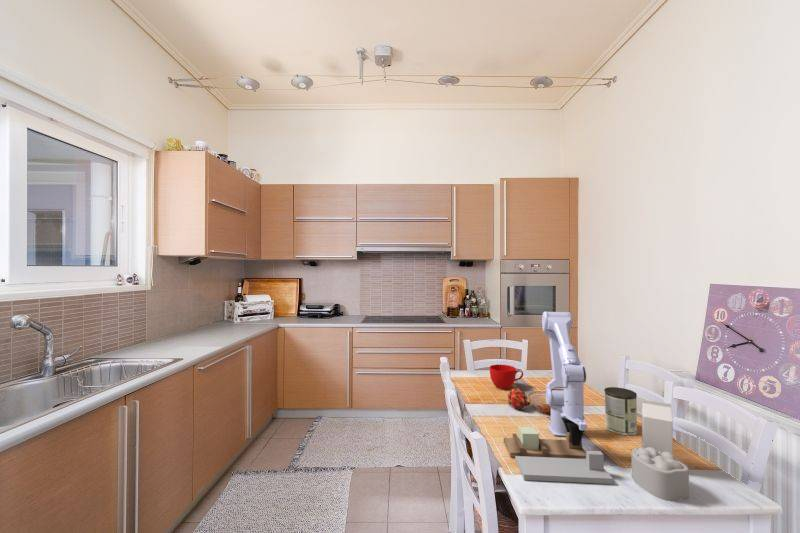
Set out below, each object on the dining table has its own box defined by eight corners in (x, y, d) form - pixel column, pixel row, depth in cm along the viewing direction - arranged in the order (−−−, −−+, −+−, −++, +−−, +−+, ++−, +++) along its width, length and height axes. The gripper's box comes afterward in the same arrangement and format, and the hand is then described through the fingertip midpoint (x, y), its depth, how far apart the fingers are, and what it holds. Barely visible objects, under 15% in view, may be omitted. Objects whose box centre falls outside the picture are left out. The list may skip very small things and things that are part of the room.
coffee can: (608, 420, 138) (608, 385, 138) (639, 428, 131) (639, 391, 131) (601, 429, 130) (601, 391, 130) (634, 438, 123) (633, 398, 123)
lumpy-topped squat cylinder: (662, 502, 89) (661, 468, 89) (621, 473, 102) (620, 443, 102) (695, 497, 91) (695, 464, 91) (651, 469, 104) (651, 440, 104)
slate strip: (595, 464, 106) (595, 444, 106) (612, 484, 96) (612, 462, 96) (515, 460, 108) (515, 441, 108) (524, 479, 98) (524, 458, 98)
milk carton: (673, 473, 102) (672, 407, 102) (643, 466, 106) (642, 403, 106) (670, 461, 108) (669, 400, 108) (642, 455, 112) (641, 396, 112)
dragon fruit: (514, 405, 158) (524, 420, 146) (499, 395, 157) (508, 409, 145) (526, 391, 157) (536, 404, 145) (511, 380, 156) (521, 393, 144)
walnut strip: (575, 444, 118) (575, 427, 118) (589, 460, 108) (589, 441, 108) (503, 442, 120) (503, 424, 120) (510, 457, 110) (510, 438, 110)
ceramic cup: (527, 391, 171) (527, 371, 171) (493, 391, 171) (493, 371, 172) (519, 383, 184) (518, 364, 184) (487, 383, 184) (487, 364, 185)
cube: (534, 442, 117) (533, 427, 117) (538, 449, 112) (538, 434, 112) (518, 441, 117) (518, 426, 117) (522, 449, 112) (522, 433, 112)
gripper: (553, 393, 121) (553, 432, 121) (570, 409, 107) (570, 454, 107) (574, 393, 121) (574, 433, 120) (593, 410, 106) (594, 455, 106)
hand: (574, 443), depth 114 cm, fingers closed on walnut strip, 2 cm apart
